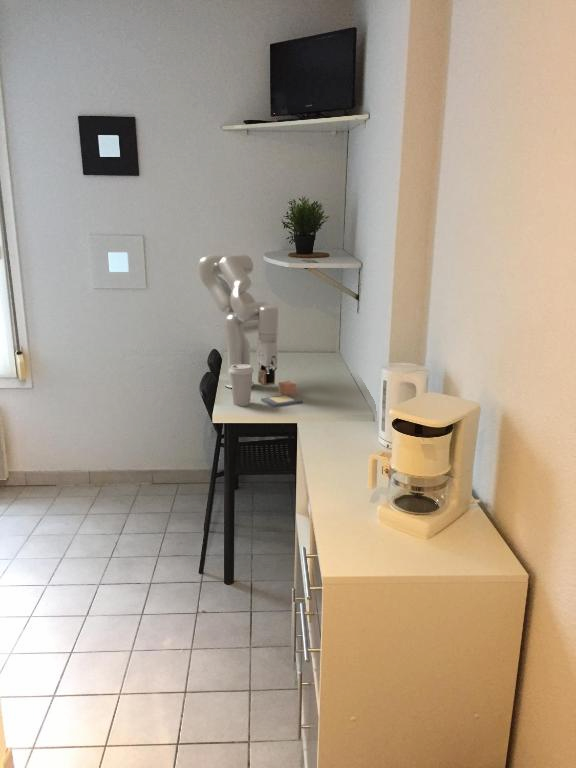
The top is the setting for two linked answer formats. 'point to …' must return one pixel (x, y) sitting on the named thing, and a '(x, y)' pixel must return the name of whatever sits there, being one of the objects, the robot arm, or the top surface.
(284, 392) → the terracotta block
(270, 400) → the board
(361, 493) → the top surface
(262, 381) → the walnut block
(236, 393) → the coffee cup
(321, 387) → the top surface
